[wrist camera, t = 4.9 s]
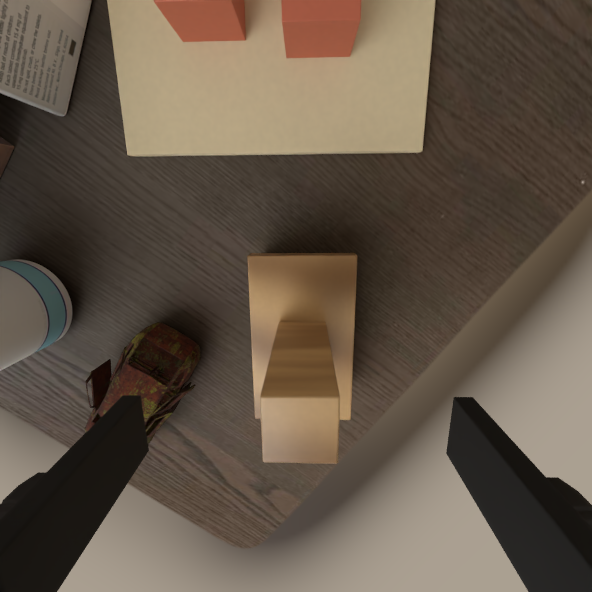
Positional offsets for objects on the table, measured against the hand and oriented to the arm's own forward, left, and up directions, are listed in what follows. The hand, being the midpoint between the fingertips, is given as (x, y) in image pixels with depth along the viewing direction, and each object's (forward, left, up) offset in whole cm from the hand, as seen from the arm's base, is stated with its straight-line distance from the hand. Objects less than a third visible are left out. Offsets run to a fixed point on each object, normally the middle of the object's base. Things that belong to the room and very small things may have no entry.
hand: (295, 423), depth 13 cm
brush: (0, 0, -12) cm, 12 cm away
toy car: (+13, +5, -12) cm, 18 cm away
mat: (+2, -21, -12) cm, 24 cm away
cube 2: (-1, -20, -12) cm, 23 cm away
